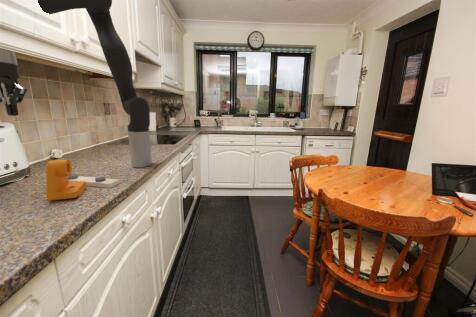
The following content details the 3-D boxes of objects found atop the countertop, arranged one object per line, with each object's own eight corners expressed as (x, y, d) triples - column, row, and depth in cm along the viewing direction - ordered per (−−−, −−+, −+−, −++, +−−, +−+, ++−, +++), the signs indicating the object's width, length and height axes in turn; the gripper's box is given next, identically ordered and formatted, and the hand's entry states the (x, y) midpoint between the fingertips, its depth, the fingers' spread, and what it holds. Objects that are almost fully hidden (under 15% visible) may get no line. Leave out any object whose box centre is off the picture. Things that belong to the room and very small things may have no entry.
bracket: (76, 200, 67) (70, 163, 64) (48, 203, 65) (40, 165, 62) (87, 187, 77) (82, 155, 74) (62, 190, 75) (56, 156, 72)
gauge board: (66, 178, 86) (65, 172, 85) (119, 183, 82) (119, 177, 82) (53, 182, 81) (52, 176, 80) (110, 187, 77) (109, 181, 77)
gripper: (30, 64, 73) (40, 115, 77) (-1, 64, 75) (10, 114, 79) (4, 59, 66) (16, 116, 70) (-31, 59, 68) (-17, 115, 72)
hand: (13, 115), depth 74 cm, fingers closed
